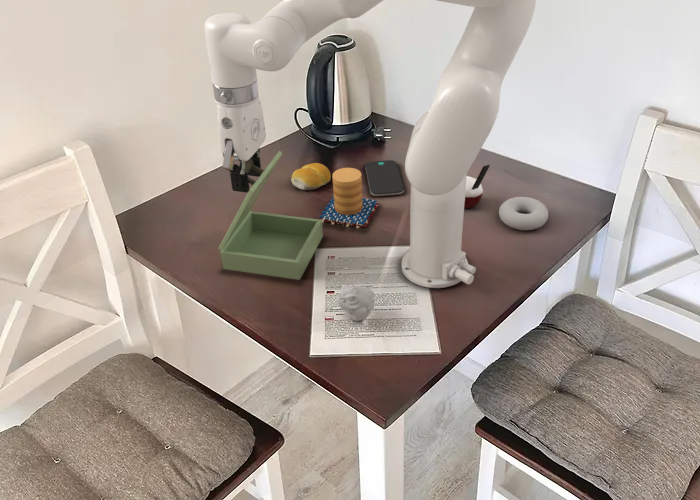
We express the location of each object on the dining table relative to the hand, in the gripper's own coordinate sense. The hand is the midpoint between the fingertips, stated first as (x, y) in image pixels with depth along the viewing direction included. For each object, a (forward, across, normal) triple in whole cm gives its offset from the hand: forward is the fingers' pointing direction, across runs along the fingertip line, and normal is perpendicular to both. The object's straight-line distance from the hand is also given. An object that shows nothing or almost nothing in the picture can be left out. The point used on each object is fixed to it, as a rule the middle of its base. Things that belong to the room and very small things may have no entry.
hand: (247, 182), depth 122 cm
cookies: (+14, +17, -15) cm, 26 cm away
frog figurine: (+16, -14, -25) cm, 33 cm away
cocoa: (+15, +26, -39) cm, 49 cm away
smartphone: (+16, +33, -19) cm, 41 cm away
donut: (+15, +23, -51) cm, 58 cm away
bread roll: (+16, +29, -2) cm, 33 cm away
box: (+16, 0, -4) cm, 17 cm away
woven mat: (+16, +17, -15) cm, 28 cm away
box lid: (+4, 0, 0) cm, 4 cm away
